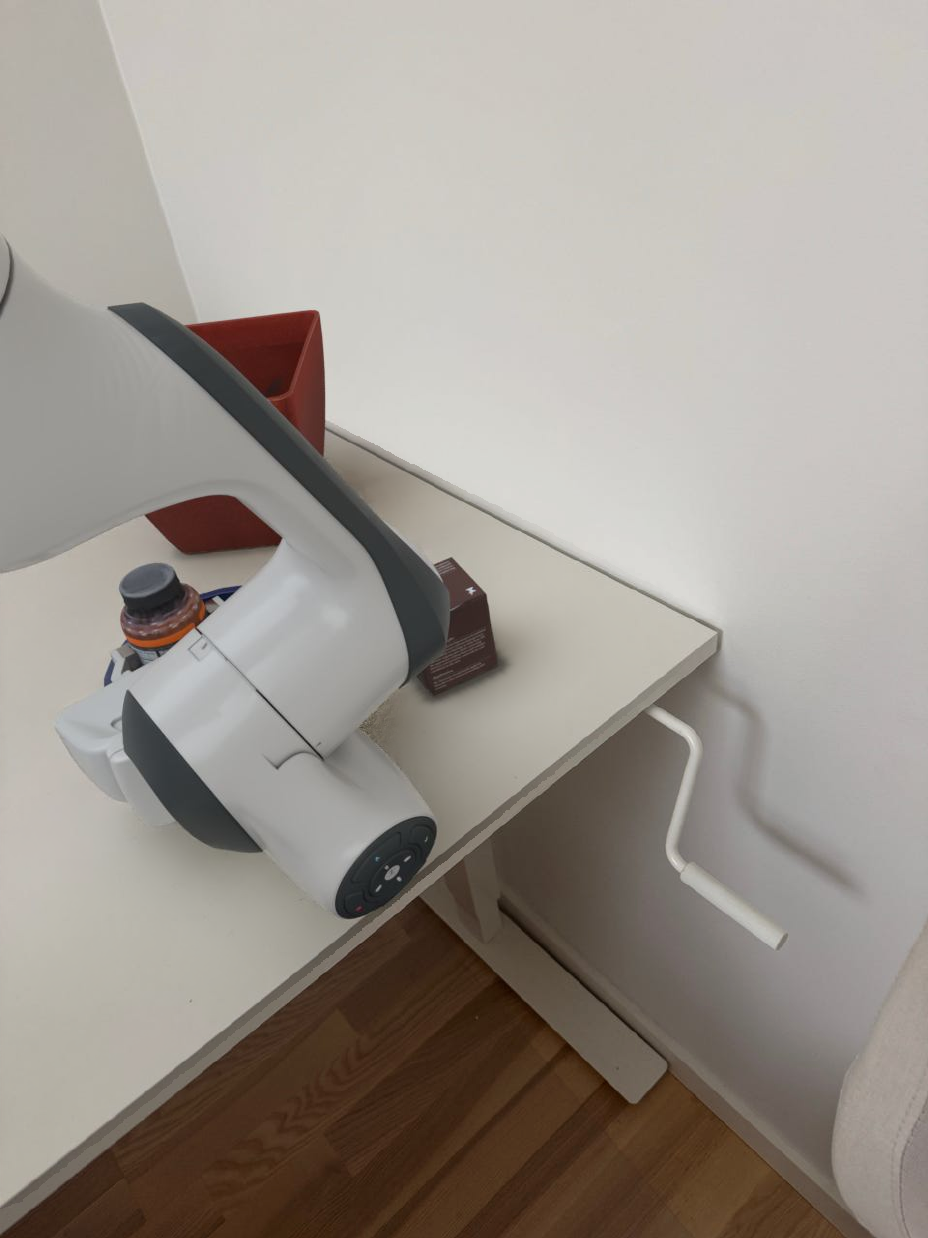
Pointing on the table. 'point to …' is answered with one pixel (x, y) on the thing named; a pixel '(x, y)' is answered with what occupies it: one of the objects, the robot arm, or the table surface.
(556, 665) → the table surface
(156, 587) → the supplement bottle
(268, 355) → the flower pot
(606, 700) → the table surface
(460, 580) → the box
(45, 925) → the table surface
